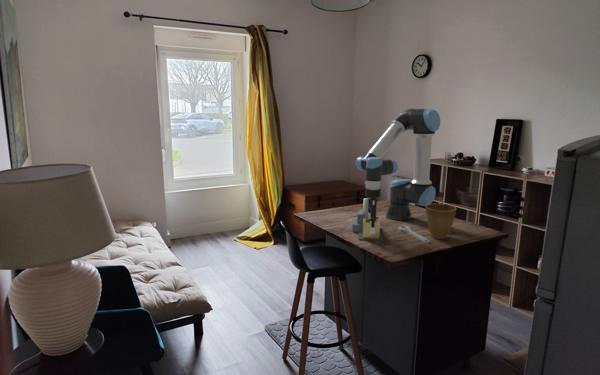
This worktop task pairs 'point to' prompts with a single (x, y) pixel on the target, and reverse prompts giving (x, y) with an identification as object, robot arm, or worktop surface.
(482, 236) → the worktop surface
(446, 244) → the worktop surface
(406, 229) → the adjustable wrench
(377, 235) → the brass collar
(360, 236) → the rubber mat
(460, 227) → the worktop surface
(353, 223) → the vise
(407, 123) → the robot arm
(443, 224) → the plant pot
